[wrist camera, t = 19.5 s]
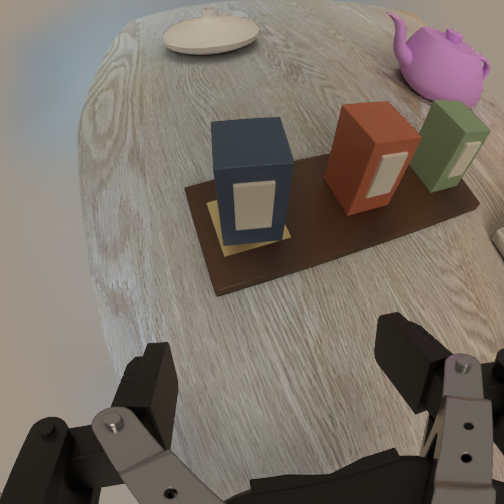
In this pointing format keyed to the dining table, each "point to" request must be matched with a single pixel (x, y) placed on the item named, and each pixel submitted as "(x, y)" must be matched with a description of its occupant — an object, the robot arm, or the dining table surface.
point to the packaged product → (499, 240)
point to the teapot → (440, 64)
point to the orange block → (369, 155)
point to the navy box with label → (251, 178)
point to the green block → (447, 144)
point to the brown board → (317, 225)
